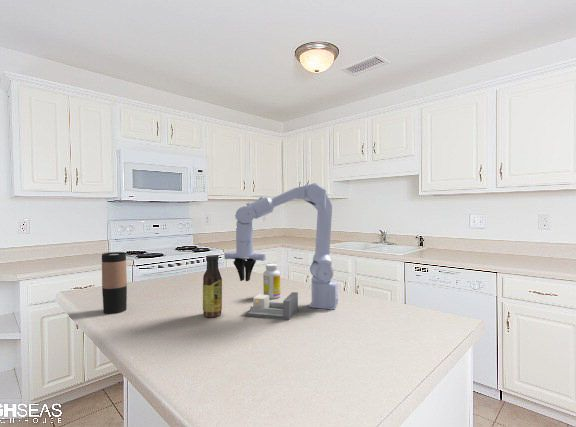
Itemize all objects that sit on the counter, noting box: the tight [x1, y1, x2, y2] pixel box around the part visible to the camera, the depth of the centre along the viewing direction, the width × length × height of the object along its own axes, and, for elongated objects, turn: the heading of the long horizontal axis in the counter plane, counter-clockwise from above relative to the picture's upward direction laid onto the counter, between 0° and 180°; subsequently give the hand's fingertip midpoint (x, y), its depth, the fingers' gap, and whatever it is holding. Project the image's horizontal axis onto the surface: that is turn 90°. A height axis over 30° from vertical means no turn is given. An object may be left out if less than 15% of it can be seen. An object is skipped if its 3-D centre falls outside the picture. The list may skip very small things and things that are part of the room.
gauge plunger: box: [252, 293, 270, 308], centre depth 116 cm, size 4×8×4 cm, turn 164°
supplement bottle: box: [262, 263, 281, 300], centre depth 135 cm, size 7×7×13 cm
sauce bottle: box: [202, 254, 223, 318], centre depth 114 cm, size 6×6×20 cm
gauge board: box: [245, 291, 299, 321], centre depth 116 cm, size 15×11×6 cm
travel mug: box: [101, 251, 128, 315], centre depth 119 cm, size 8×8×20 cm
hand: (244, 280), depth 119 cm, fingers closed
